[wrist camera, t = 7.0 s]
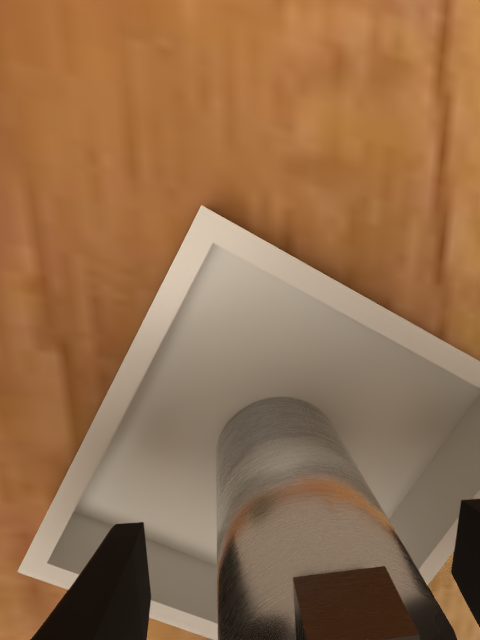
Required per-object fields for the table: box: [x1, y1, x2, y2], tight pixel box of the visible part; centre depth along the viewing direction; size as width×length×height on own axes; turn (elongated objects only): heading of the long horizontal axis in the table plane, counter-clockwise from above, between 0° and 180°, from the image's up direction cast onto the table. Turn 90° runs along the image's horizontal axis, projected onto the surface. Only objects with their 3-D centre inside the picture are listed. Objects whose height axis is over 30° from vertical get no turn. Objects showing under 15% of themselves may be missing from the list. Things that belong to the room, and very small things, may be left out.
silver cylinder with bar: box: [216, 397, 457, 640], centre depth 9 cm, size 4×4×7 cm
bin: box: [17, 205, 480, 640], centre depth 12 cm, size 11×11×2 cm
